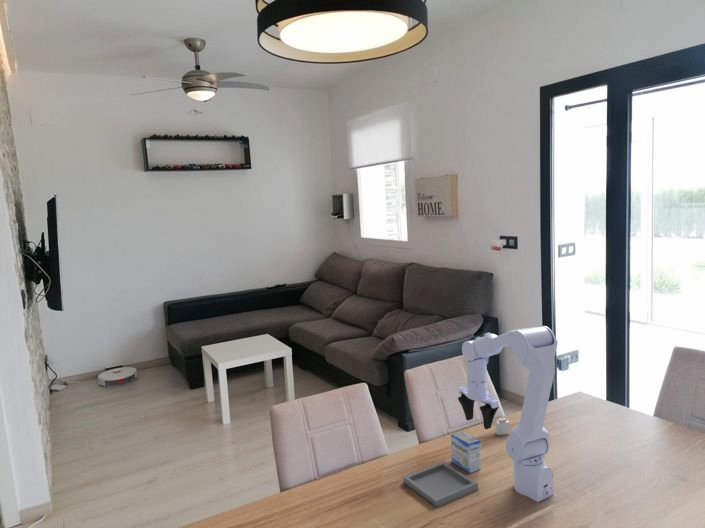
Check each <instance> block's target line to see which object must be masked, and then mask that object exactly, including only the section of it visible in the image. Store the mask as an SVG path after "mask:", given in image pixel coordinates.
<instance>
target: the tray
mask: <svg viewBox="0 0 705 528" xmlns="http://www.w3.org/2000/svg"><path fill="white" fill-rule="evenodd" d="M402 480H403V484H405V486H407V487H408V488H409V489H411V490H412V491H414V492H415V493H416V494H418V495H419V496H420V497H421V498H423V499H424V500H425V501H427V502H428V503H430V505H432V506H433V507H435V508H439V507H442V506H445V505H446V504H449V503H451V502H453V501H455V500H458V499H460V498H462V497H465V496H467V495H469V494H472V493H474V492H476V491H479V483H478V482H477V481H475V480H473V479H472V478H470V477H468V476H467V475H465V474H464V473H462V472H460V471H459V470H457V469H456V468H454V467H452V466H451V465H449V464H448V463H446V462H444V461H442V462H441V461H440V462H439V463H436V464H433V465H431V466H429V467H426V468H424V469H420V470H418V471H416V472H412V473H410V474H408V475H404V476H403V479H402Z"/></svg>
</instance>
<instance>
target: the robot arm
mask: <svg viewBox="0 0 705 528" xmlns="http://www.w3.org/2000/svg"><path fill="white" fill-rule="evenodd" d="M558 344H559V343H558V340H557V338H556V335H555V334H554V332H553V331H552V329H551V328H550V327H548V326H546V325H540V326H538V327H537V326H534V327H525V328H519V329H512V330H508V331H507V332H504V333H502V334H500V335H499V334H498V335H497V334H495V333H491V332H486V333H483V336H482V337H481V336H477V337H475V338H474V340H465V341H464V342H463V343H462V346H461V352H462V355H463V358H464V359H465V360H466V382H467V384H466V385H467V387H465V386H461V387H458V394H459V395H460V396H459V397H457V400H458V402H459V403H460V405H461V407H462V409H463V413H464V416H465V420H466V421H471V420H473V419H474V409H475V408H474V407H475V401H476V402H480V403H482V404H484V405H481V406H479V410H480V412H481V415H482V418H483V419H482V422H483V429H485V430H489V429H491V428H492V425H493V424H492V421H493V418H495V415H496V413H497V411H498V409H499V400H497V399H495V398H494V397H493V396H492V395H490V391H488V375H487V374H488V373H487V371H488V370H487V365H488V364H489V358H490V357H491V356H494V355H498V354H500V353H501V352H502V350H503V348H506V347H508V348H509V349H510V350H511V351H512V352H513V354H514V355H515V357H516V358H517V359H518V361H519V362H520V363H521V365H522V367H523V368H526V369H527V370H529V375H528V379H527V380H528V381H527V383H526V390H525V395H524V399H523V404H522V409H521V414H520V419H519V422H518V423H517V424H516V425H515V426H514V427H513V428H512V429H510V434H509V436H508V437H507V438H506V439H505V449H506V453H507V455H508V456H509V457H510V459H512V460H513V462H512V463H513V465H512V466H513V488H514V490H515V491H516V492H517V493H518V494H520V495H523V496H525V497H527V498H530V499H532V500H533V501H534V502H537V503H539V502H541V501H544V500H545V499H548V498H549V497H551V496H553V495H555V494H554V472H553V470H552V468H551V467H549V466H548V465H547V464H546V463H545V462H544V460H545V458H546V456H545V455H547V454H548V453H549V451H550V442H549V440H550V439H549V438H550V432H549V431H548V430H547V428H546V427H544V423H545V419H546V418H545V417H546V415H547V414H546V413H547V409H548V404H549V399H550V395H551V390H552V386H553V381H554V377H555V373H556V363H555V356H556V353H557V349H558Z"/></svg>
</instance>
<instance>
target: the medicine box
mask: <svg viewBox="0 0 705 528" xmlns="http://www.w3.org/2000/svg"><path fill="white" fill-rule="evenodd" d="M450 454H451V456H450V457H451V463H452V464H454V465H456V466H457V467H459V468H460V469H463V471H466V472H467V473H469V474H472V473H474V472H478V471H479V470H481V469H482V456H481V440H480V439H478V438H475V437H474V436H472V435H469V434H467V433H465V432H463V430H462V431H457V432H454V433H451V434H450Z"/></svg>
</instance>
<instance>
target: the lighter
mask: <svg viewBox="0 0 705 528" xmlns="http://www.w3.org/2000/svg"><path fill="white" fill-rule="evenodd" d="M498 419H499V420H498V421H497V419H496V418H495V417H494V418H493V421H492V425H493V426H495V434H496V435H497V436H505V435H510V433H511V429H510V423H511V422H510V421H509V420H508V419H507V418H505V417H502V418H501V417H499V418H498Z"/></svg>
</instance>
